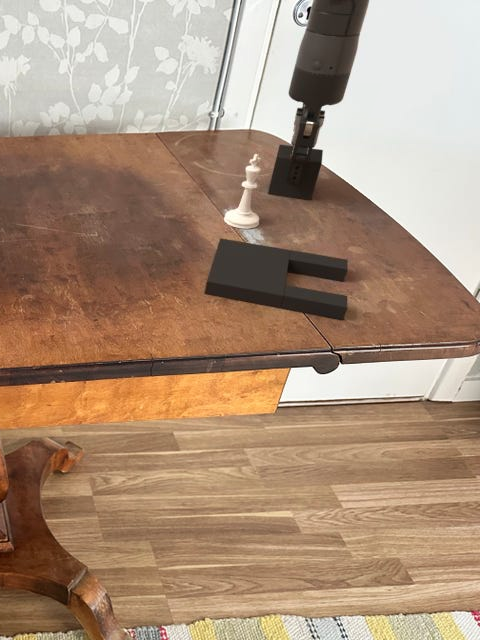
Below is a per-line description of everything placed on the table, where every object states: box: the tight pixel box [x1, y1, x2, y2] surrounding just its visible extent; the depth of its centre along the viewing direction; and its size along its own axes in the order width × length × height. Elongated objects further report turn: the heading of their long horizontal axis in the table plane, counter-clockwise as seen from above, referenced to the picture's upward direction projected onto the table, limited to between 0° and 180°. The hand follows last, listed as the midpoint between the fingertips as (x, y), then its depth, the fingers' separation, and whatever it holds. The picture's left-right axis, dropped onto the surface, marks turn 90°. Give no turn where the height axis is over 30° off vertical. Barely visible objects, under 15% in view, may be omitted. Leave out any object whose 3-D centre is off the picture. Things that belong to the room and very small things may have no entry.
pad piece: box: [267, 144, 324, 201], centre depth 109 cm, size 6×6×6 cm
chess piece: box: [223, 153, 262, 230], centre depth 99 cm, size 5×5×10 cm
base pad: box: [204, 237, 349, 321], centre depth 88 cm, size 16×12×2 cm
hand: (294, 174), depth 110 cm, fingers open, 7 cm apart
